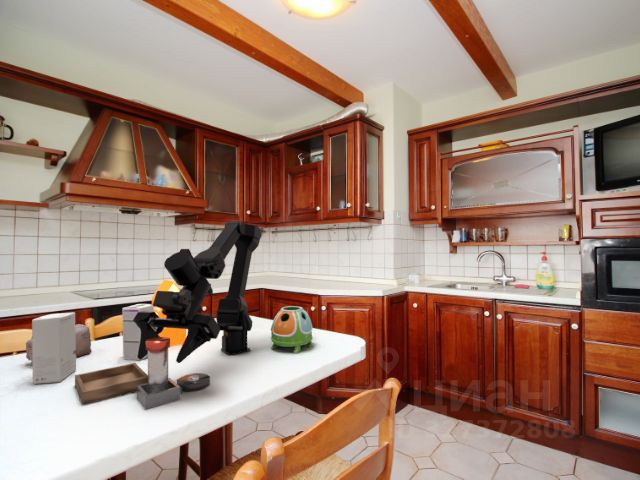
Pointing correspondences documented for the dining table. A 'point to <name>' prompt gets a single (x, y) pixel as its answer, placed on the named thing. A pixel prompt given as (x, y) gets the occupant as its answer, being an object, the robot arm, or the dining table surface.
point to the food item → (81, 342)
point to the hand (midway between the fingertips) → (158, 360)
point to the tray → (109, 382)
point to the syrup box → (132, 330)
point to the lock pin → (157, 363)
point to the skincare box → (53, 347)
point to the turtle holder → (291, 328)
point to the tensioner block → (172, 390)
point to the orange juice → (173, 333)
